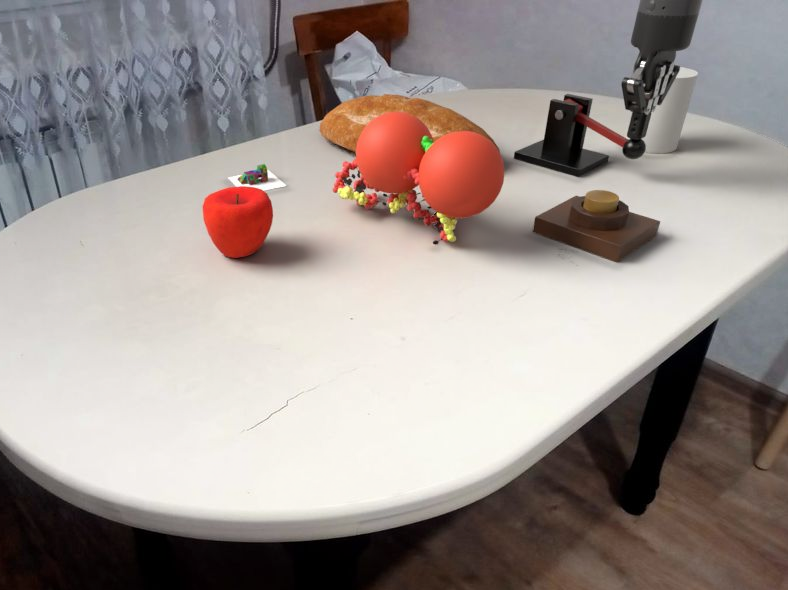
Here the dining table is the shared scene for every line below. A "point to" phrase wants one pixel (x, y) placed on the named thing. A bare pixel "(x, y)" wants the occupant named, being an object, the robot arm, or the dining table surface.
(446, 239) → the molecule
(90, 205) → the dining table surface
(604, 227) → the push button box
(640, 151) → the red lever
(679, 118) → the cup
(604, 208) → the bell button
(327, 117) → the bread
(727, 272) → the dining table surface
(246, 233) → the apple
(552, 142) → the lever base
